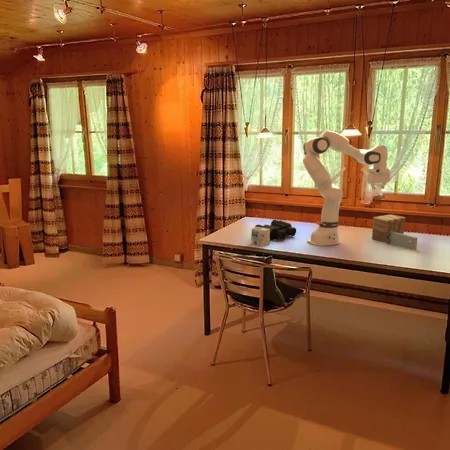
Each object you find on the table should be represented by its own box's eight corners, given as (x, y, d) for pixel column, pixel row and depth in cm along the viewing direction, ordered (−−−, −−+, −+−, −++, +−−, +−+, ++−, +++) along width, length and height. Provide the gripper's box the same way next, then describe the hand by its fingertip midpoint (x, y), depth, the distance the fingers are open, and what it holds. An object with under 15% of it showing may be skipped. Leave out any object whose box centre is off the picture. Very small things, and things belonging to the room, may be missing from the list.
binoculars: (275, 230, 333) (276, 217, 330) (299, 236, 320) (300, 223, 317) (252, 237, 311) (253, 224, 309) (277, 244, 299) (278, 230, 296)
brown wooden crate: (388, 243, 296) (390, 221, 293) (370, 238, 309) (372, 217, 305) (407, 239, 307) (409, 218, 303) (389, 234, 319) (390, 214, 315)
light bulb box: (250, 244, 296) (251, 228, 294) (256, 241, 302) (256, 226, 299) (264, 246, 290) (265, 230, 288) (269, 244, 296) (270, 228, 293)
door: (416, 249, 283) (417, 237, 281) (412, 250, 281) (413, 238, 279) (390, 242, 300) (391, 231, 298) (386, 243, 298) (387, 231, 296)
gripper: (385, 167, 311) (384, 187, 314) (366, 169, 300) (364, 189, 303) (393, 168, 305) (391, 188, 309) (373, 170, 295) (372, 191, 298)
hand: (378, 189), depth 306 cm, fingers open, 8 cm apart
